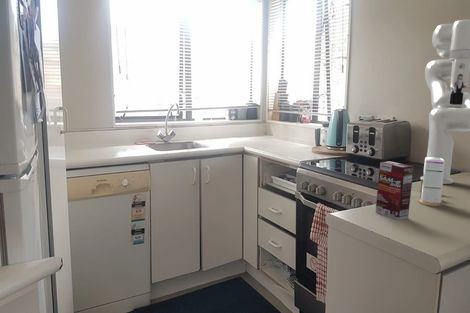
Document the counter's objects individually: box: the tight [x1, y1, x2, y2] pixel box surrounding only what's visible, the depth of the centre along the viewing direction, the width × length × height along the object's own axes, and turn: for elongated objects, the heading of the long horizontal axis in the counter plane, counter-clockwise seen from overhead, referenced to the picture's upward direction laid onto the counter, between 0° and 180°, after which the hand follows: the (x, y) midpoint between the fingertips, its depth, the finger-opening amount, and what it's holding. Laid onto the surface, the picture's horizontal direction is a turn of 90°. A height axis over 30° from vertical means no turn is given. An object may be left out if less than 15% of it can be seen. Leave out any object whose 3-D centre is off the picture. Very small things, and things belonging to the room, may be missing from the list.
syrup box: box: [420, 156, 445, 203], centre depth 130 cm, size 6×6×14 cm
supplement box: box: [375, 160, 415, 221], centre depth 116 cm, size 9×5×16 cm, turn 29°
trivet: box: [418, 197, 443, 207], centre depth 132 cm, size 7×7×1 cm
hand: (455, 104), depth 141 cm, fingers open, 9 cm apart
